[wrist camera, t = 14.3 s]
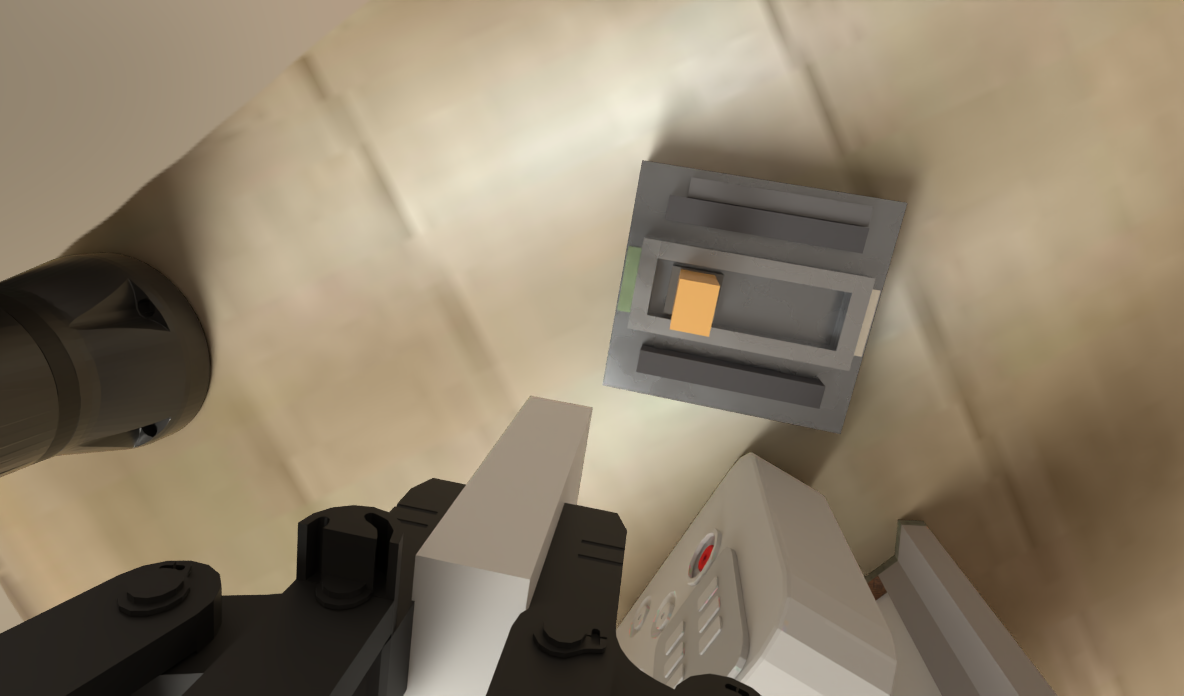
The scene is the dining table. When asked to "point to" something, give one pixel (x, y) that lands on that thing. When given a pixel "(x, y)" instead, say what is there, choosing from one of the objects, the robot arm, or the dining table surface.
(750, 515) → the rounded white slab
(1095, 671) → the dining table surface
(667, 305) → the breaker lever
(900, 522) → the cabinet
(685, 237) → the frame
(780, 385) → the grey slider track plate
